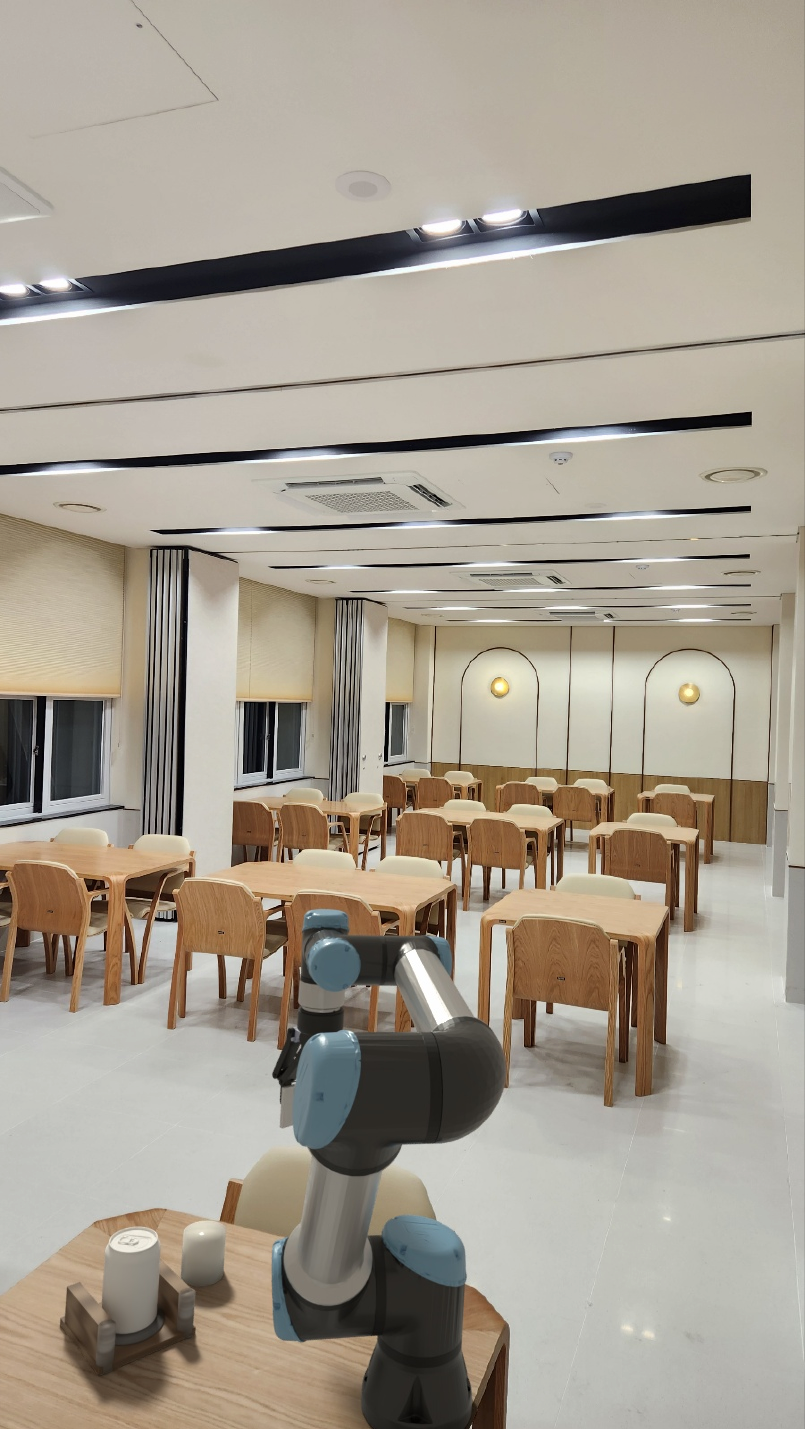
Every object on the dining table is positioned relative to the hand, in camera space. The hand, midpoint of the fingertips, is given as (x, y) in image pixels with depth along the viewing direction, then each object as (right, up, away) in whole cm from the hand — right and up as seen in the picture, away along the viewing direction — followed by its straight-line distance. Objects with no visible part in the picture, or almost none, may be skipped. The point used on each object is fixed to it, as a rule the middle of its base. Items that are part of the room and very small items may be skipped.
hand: (313, 1139), depth 146 cm
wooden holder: (-27, -24, -11) cm, 37 cm away
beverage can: (-27, -22, -11) cm, 37 cm away
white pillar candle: (-19, -25, +4) cm, 31 cm away
